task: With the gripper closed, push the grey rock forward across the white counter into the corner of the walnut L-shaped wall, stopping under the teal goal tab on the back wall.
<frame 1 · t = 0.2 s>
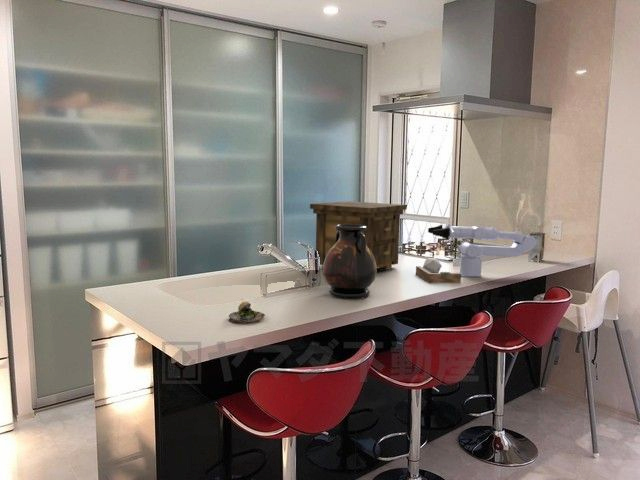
hand: (430, 231, 252), 21 cm above the counter, tool horizontal, fingers open, 7 cm apart
crate: (357, 268, 269), on the counter
grey rock: (431, 274, 258), on the counter
amphora vase: (349, 295, 212), on the counter
arena: (436, 277, 249), on the counter
coffee box: (535, 261, 303), on the counter
mossy rock: (246, 321, 175), on the counter
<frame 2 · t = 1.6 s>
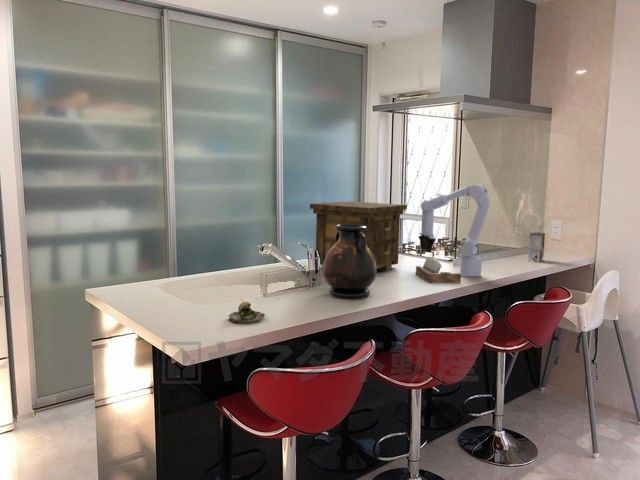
hand: (426, 250, 266), 10 cm above the counter, tool pointing down, fingers open, 7 cm apart
nothing on the counter moved.
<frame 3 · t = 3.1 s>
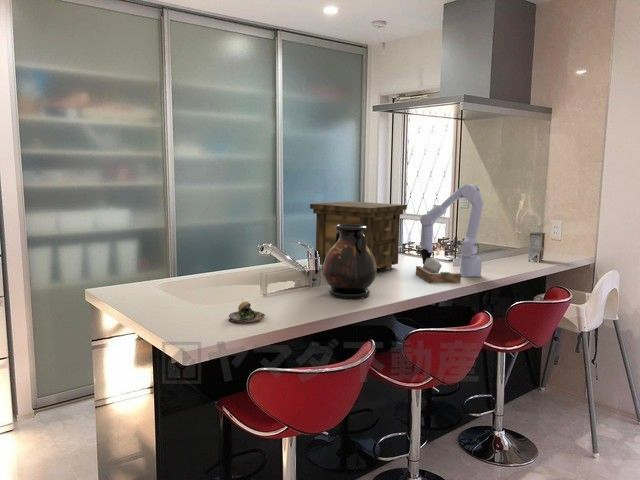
hand: (425, 264, 267), 3 cm above the counter, tool pointing down, fingers closed
nothing on the counter moved.
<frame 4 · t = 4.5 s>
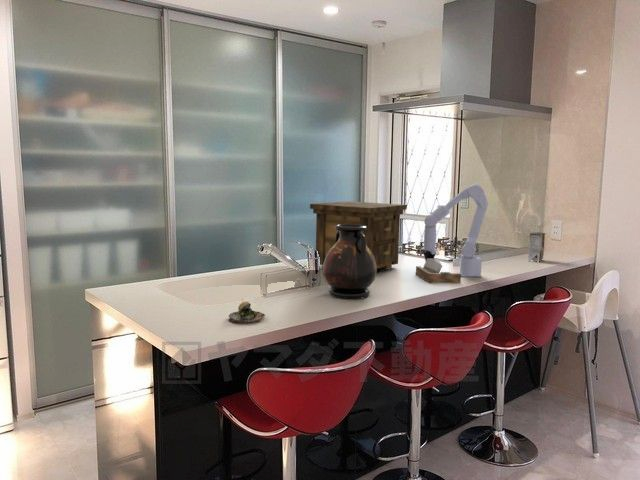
hand: (428, 266, 262), 3 cm above the counter, tool pointing down, fingers closed
grey rock: (432, 274, 257), on the counter, touching gripper
everything else where it was.
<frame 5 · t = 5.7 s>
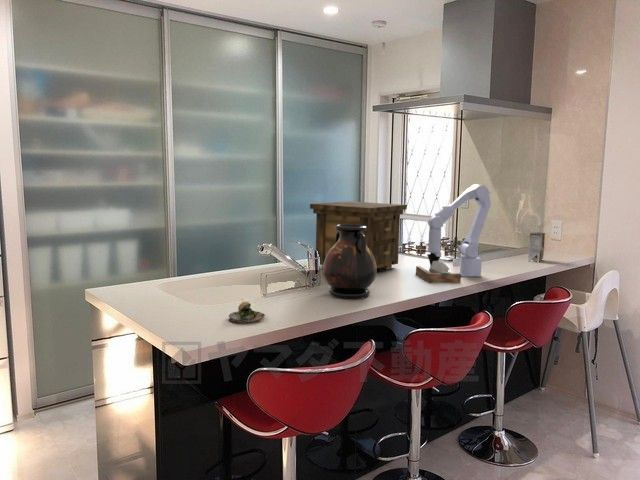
hand: (433, 269, 255), 3 cm above the counter, tool pointing down, fingers closed
grey rock: (438, 277, 250), on the counter, touching gripper
everything else where it was.
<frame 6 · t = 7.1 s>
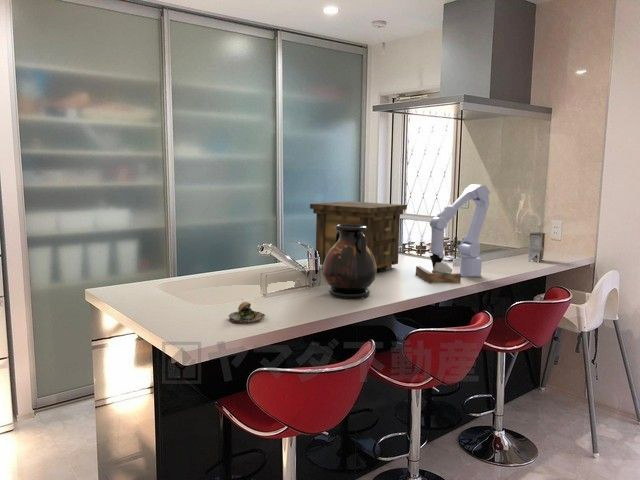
hand: (435, 270, 251), 3 cm above the counter, tool pointing down, fingers closed
grey rock: (441, 279, 246), on the counter, touching gripper
everything else where it was.
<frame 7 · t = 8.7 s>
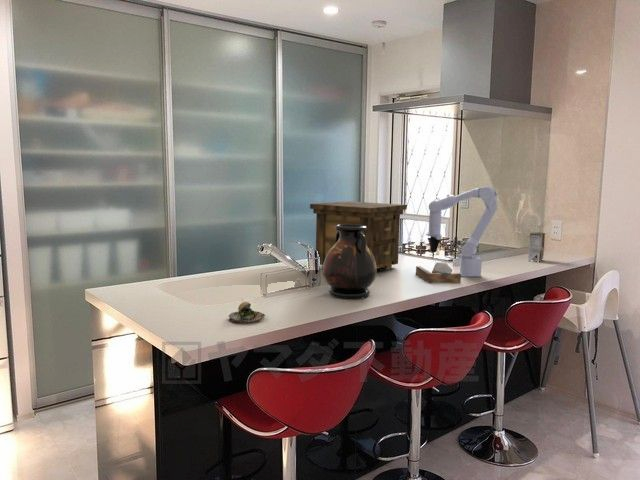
hand: (433, 252, 263), 10 cm above the counter, tool pointing down, fingers closed
grey rock: (441, 279, 246), on the counter
everything else where it was.
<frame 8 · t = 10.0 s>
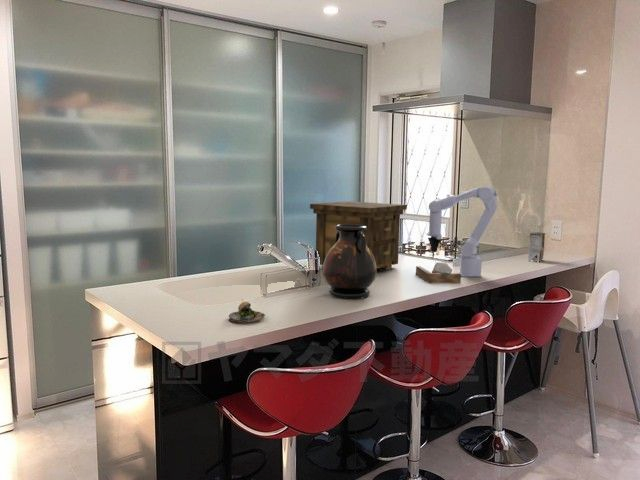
hand: (433, 251, 264), 10 cm above the counter, tool pointing down, fingers closed
nothing on the counter moved.
at the end: grey rock inside the target area (1.4 cm from its centre), on the counter; grey rock tilted 0°; grey rock moved 11.8 cm from its start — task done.
